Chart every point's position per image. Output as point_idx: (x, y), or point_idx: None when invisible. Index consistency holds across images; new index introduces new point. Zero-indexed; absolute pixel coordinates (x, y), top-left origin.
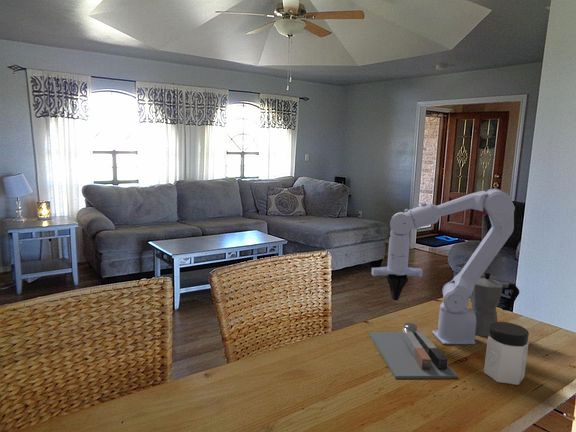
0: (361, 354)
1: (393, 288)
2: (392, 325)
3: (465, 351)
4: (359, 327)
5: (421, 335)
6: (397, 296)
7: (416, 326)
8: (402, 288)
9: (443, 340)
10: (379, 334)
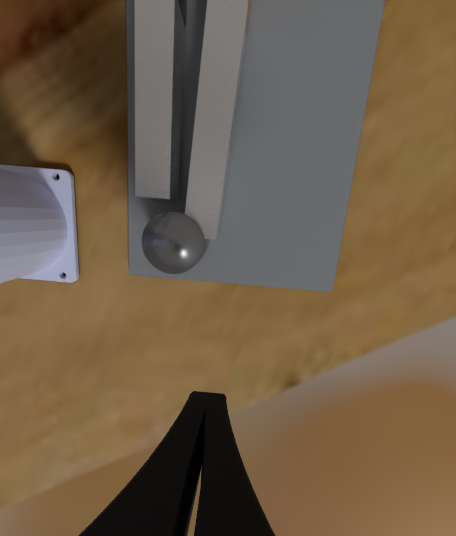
0: (439, 115)
1: (248, 492)
2: (206, 351)
3: (5, 108)
4: (338, 345)
5: (156, 149)
6: (197, 412)
7: (147, 230)
8: (131, 482)
9: (60, 192)
10: (298, 266)
